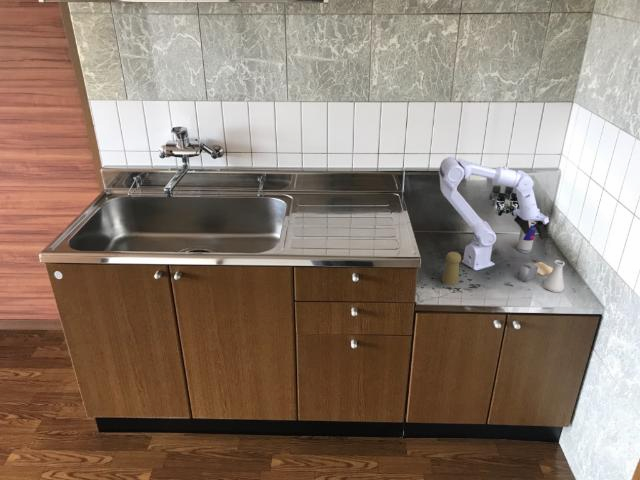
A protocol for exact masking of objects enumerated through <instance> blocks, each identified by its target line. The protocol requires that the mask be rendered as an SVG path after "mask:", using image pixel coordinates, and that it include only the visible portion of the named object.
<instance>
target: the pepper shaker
mask: <svg viewBox="0 0 640 480" xmlns="http://www.w3.org/2000/svg"><path fill="white" fill-rule="evenodd" d="M445 261H446V263H445V268H444V270H443V274H442V277H441V282H442V283H443V284H445V285H449V286H456V284H457V285H458V284H459V283H460V263H461V262H462V256H461V254H460V253H459V252H457V251H450V252H448V253H446V254H445Z"/></svg>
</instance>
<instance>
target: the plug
mask: <svg viewBox="0 0 640 480" xmlns="http://www.w3.org/2000/svg"><path fill="white" fill-rule="evenodd" d="M534 264H535V263H532V262H527V263H523V264H522V265H520V269H519V272H518V278H517V279H518V281H520V282H525V283H526V282H530V281H533V280H535V279H536V278H537V274H538V272H539V270H538V266H536V265H534Z"/></svg>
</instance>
